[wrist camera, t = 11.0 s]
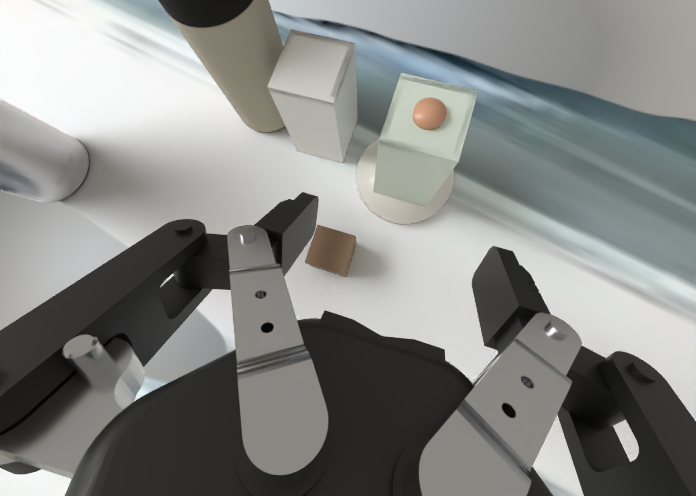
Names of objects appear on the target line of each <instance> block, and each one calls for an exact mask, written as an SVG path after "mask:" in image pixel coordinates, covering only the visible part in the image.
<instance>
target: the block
mask: <svg viewBox="0 0 696 496" xmlns="http://www.w3.org/2000/svg"><path fill="white" fill-rule="evenodd" d="M355 246H356V236H354V235H350V234H347V233H343V232H340V231H337V230H333V229H330V228H327V227H323V226H320V225H318V226H317V228H316V231H315V234H314V237H313V240H312V243H311V246H310V249H309V252H308V255H307V258H306V260H305V263H307V264H309V265H311V266H313V267H316V268H319V269H322V270H325V271H328V272H332V273H335V274H338V275H341V276H344V277H346V275H347V272H348V269H349V265H350V262H351V259H352V256H353V253H354V250H355Z"/></svg>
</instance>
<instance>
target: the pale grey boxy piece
mask: <svg viewBox="0 0 696 496" xmlns="http://www.w3.org/2000/svg"><path fill="white" fill-rule="evenodd" d="M477 94H478V91H476V90H472V89H468V88H464V87H459V86H455V85H451V84H447V83H442V82H438V81H434V80H429V79H425V78H421V77H417V76H412V75H408V74H404V73H401V75H400V78H399V81H398V84H397V87H396V90H395V93H394V96H393V99H392V102H391V105H390V108H389V111H388V114H387V117H386V120H385V123H384V126H383V129H382V132H381V135H380V138H379V141H378V151H377V160H376V170H375V179H374V189H373V192H375V193H378V194H382V195H385V196H389V197H392V198H396V199H399V200H403V201H406V202H409V203H413V204H416V205H420V206H423V207H426V205H427V204H428V203H429V201H430V200H431V199H432V197H433V196H434V194H435V193H436V192H437V190H438V189H439V188H440V186H441V185H442V184H443V182H444V181H445V179H446V178H447V177H448V175H449V174H450V173H451V171H452V170H453V169H454V167H455V166H456V165H457V163H458V162H459V158H460V155H461V151H462V148H463V144H464V141H465V137H466V133H467V130H468V126H469V123H470V119H471V116H472V112H473V108H474V105H475V101H476V98H477Z"/></svg>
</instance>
